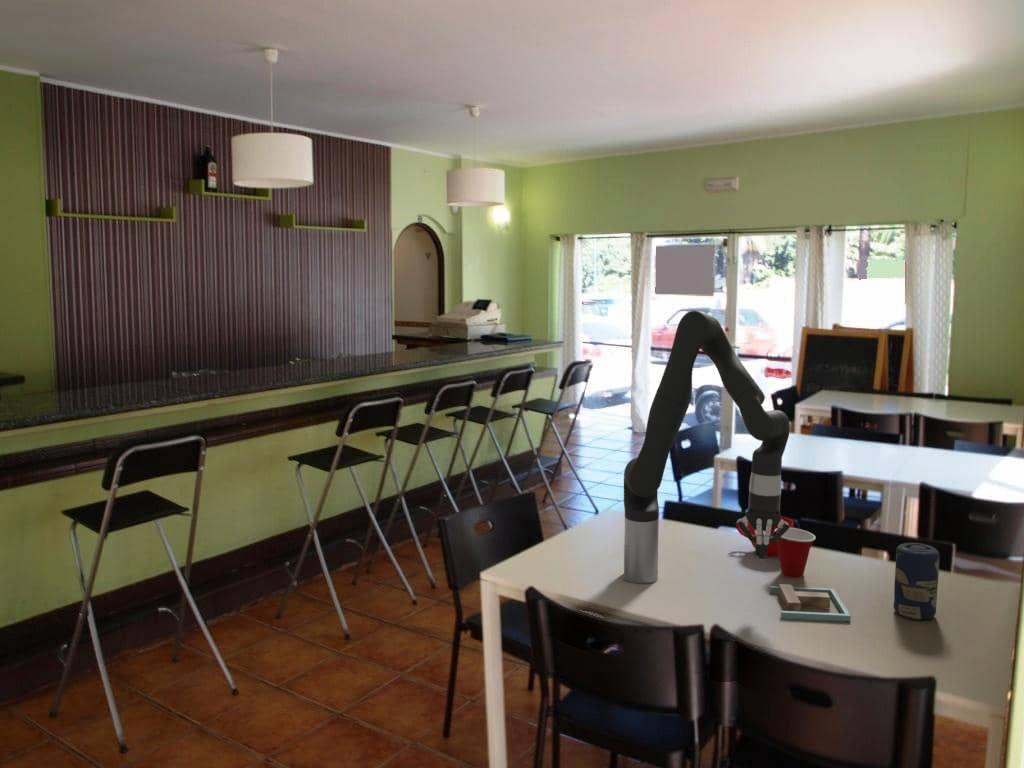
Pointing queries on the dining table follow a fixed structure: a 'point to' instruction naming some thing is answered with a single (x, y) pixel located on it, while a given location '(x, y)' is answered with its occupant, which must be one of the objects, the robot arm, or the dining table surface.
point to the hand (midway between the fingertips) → (760, 557)
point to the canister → (916, 580)
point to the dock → (814, 615)
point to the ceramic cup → (771, 546)
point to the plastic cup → (794, 551)
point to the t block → (802, 599)
